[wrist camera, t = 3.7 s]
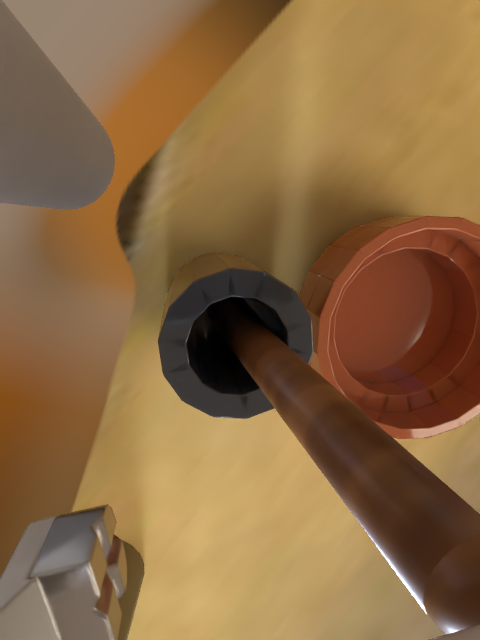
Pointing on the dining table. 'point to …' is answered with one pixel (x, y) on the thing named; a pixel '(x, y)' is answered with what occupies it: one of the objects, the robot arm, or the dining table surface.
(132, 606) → the pepper mill
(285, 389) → the stirring stick
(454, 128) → the dining table surface
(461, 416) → the bowl
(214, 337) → the utensil pot
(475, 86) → the dining table surface
